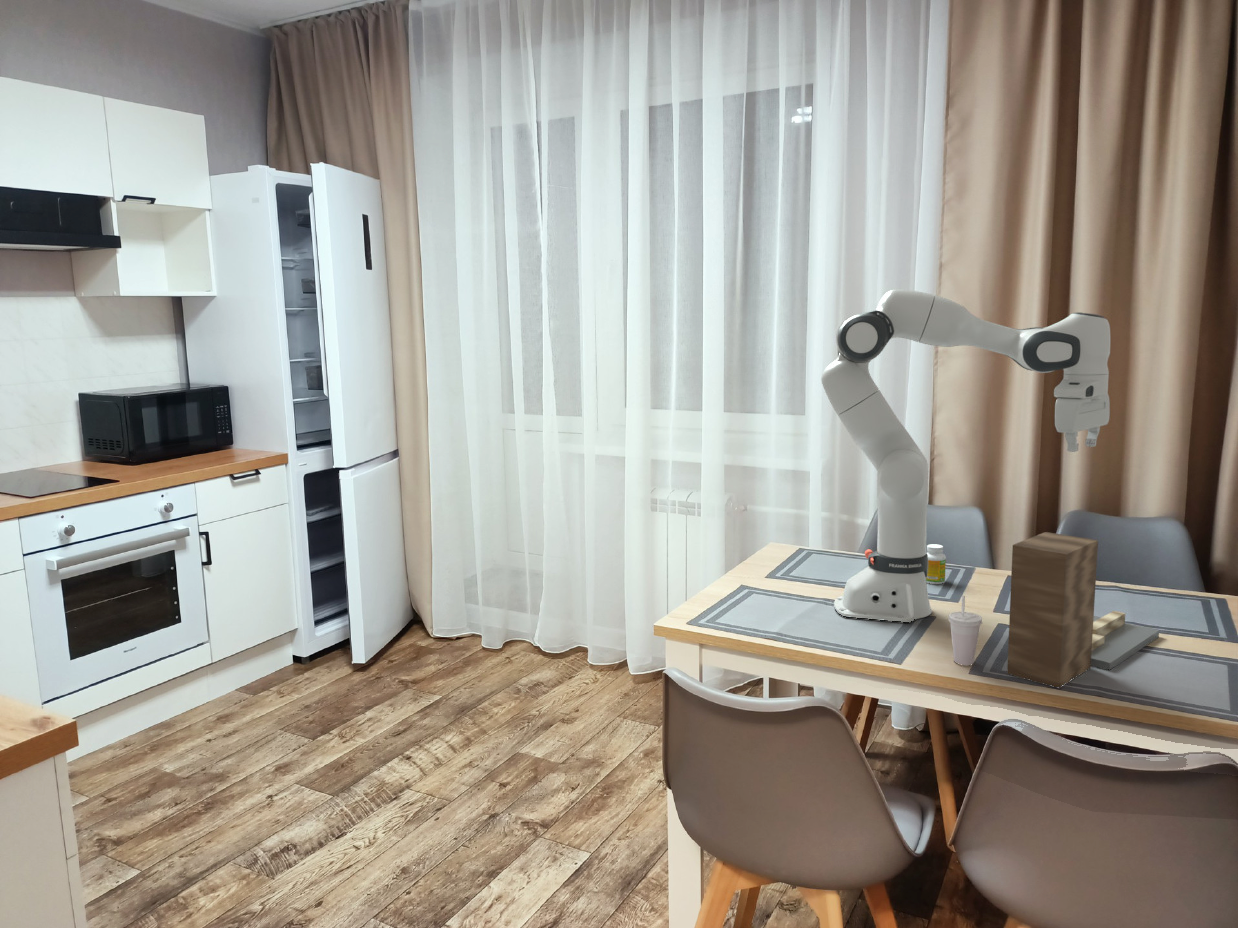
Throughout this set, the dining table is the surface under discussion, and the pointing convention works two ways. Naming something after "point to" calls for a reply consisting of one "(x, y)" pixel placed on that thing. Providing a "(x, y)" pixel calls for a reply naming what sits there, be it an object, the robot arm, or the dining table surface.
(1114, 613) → the stepped light wood bar
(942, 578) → the supplement bottle
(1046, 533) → the walnut stand
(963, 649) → the smoothie
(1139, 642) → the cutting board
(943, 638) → the dining table surface
